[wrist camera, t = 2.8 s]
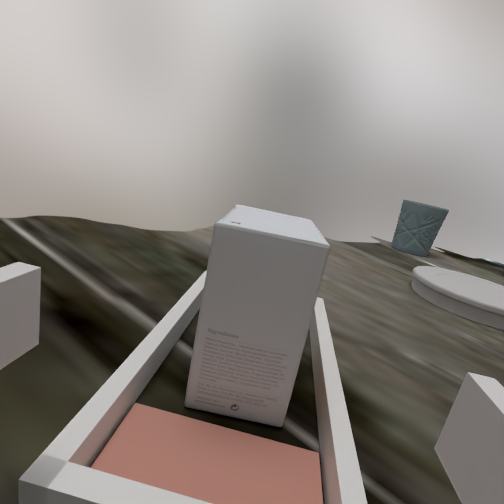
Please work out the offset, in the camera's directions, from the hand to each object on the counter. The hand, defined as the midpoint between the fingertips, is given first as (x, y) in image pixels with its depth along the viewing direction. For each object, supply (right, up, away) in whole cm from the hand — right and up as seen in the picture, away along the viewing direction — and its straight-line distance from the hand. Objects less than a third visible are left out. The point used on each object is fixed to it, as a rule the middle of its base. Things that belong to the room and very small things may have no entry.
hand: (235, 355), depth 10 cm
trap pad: (-1, -7, +4) cm, 8 cm away
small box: (0, -5, +11) cm, 13 cm away
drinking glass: (+40, +3, +72) cm, 82 cm away
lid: (+33, -5, +39) cm, 51 cm away
